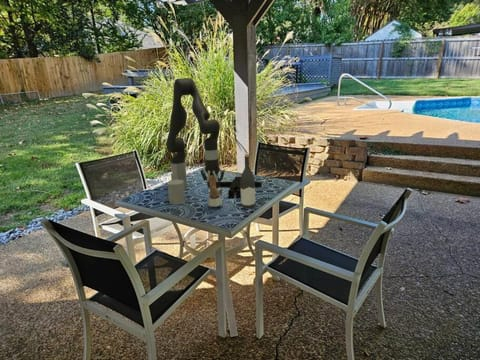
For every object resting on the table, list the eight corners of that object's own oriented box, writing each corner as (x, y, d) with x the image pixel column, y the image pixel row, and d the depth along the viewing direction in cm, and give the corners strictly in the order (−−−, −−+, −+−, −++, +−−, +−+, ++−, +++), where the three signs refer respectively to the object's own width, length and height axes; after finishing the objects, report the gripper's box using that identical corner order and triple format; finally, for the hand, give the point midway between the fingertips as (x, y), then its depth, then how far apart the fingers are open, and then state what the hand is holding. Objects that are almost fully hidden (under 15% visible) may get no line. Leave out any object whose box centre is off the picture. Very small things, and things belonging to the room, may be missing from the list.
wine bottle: (253, 201, 184) (252, 151, 175) (256, 207, 176) (255, 155, 167) (240, 203, 183) (238, 152, 173) (242, 208, 175) (240, 156, 166)
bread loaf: (209, 196, 175) (208, 175, 171) (211, 193, 178) (210, 173, 174) (216, 196, 174) (215, 175, 170) (218, 194, 177) (217, 173, 174)
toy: (209, 190, 190) (218, 175, 219) (210, 199, 192) (218, 182, 220) (260, 190, 187) (262, 175, 215) (260, 199, 189) (262, 182, 217)
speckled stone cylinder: (166, 201, 190) (164, 181, 186) (181, 197, 195) (179, 178, 191) (173, 205, 182) (171, 185, 178) (188, 201, 188) (186, 182, 184)
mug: (206, 209, 176) (205, 196, 173) (213, 200, 188) (212, 187, 185) (219, 210, 174) (218, 196, 171) (225, 201, 186) (225, 188, 184)
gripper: (196, 159, 167) (199, 189, 173) (222, 159, 164) (224, 190, 170) (201, 155, 174) (203, 184, 180) (226, 156, 171) (227, 186, 176)
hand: (213, 187), depth 175 cm, fingers closed on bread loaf, 4 cm apart
